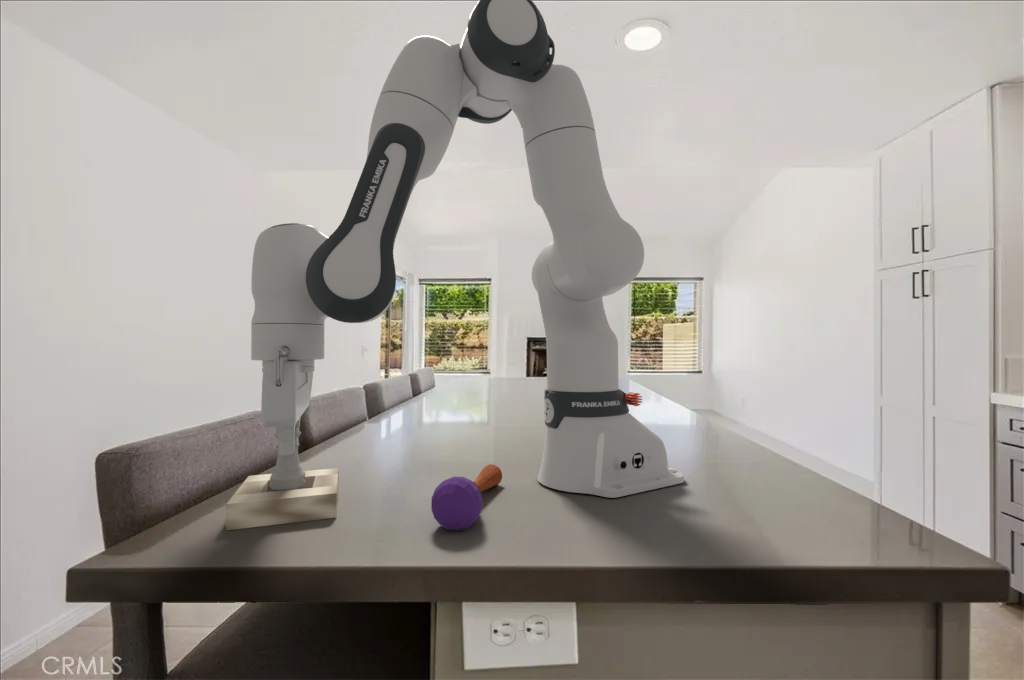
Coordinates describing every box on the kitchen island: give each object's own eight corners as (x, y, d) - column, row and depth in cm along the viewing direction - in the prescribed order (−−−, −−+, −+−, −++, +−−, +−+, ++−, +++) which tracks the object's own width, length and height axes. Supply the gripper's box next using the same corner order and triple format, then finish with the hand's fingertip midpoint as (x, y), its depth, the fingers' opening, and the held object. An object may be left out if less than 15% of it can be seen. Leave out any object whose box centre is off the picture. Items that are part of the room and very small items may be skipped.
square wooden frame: (338, 488, 71) (338, 468, 71) (336, 517, 59) (336, 493, 59) (248, 496, 67) (248, 475, 67) (226, 530, 55) (226, 504, 55)
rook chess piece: (290, 493, 60) (290, 430, 60) (261, 490, 61) (261, 428, 61) (313, 483, 65) (313, 424, 65) (285, 481, 66) (285, 423, 66)
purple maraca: (514, 460, 72) (479, 489, 52) (506, 499, 71) (468, 543, 52) (476, 451, 73) (429, 476, 53) (469, 490, 73) (418, 529, 53)
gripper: (308, 346, 54) (308, 467, 54) (318, 346, 74) (319, 435, 74) (246, 347, 52) (245, 472, 52) (274, 347, 72) (273, 438, 72)
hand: (288, 450), depth 63 cm, fingers closed on rook chess piece, 3 cm apart
